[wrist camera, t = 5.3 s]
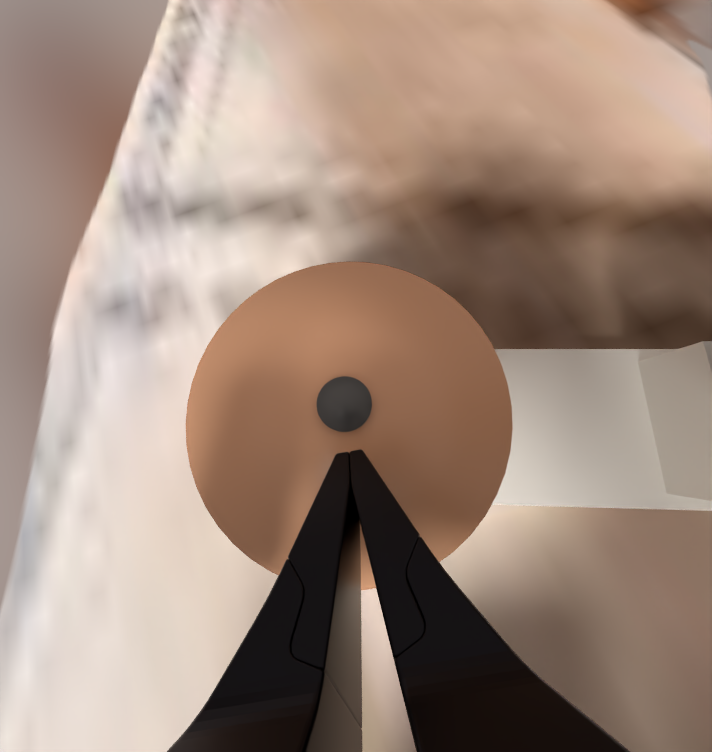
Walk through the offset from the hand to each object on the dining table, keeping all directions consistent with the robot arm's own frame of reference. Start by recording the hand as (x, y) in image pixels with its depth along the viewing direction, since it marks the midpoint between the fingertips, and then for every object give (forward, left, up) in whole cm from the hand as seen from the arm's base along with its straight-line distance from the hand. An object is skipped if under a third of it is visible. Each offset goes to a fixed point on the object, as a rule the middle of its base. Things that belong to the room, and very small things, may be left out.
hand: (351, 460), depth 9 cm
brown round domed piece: (+2, -1, -7) cm, 7 cm away
